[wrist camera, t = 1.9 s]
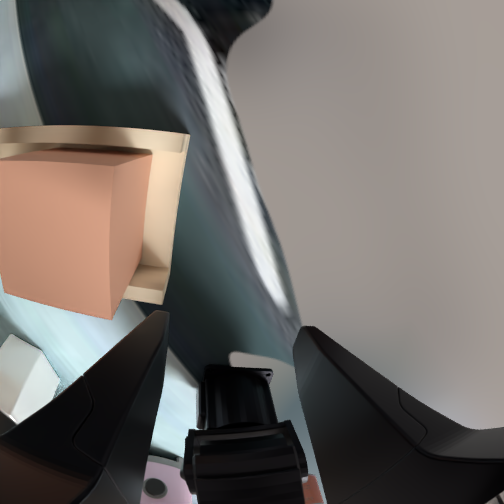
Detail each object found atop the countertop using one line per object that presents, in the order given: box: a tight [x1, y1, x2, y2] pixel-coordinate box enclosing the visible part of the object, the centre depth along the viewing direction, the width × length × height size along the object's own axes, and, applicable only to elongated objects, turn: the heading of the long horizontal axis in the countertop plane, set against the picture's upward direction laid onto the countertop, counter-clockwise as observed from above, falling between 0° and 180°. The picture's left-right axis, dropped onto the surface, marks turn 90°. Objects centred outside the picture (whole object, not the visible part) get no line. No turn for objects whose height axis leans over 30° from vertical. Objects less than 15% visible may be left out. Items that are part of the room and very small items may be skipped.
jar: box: [0, 334, 60, 435], centre depth 16 cm, size 9×8×12 cm
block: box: [0, 147, 153, 320], centre depth 13 cm, size 7×7×7 cm
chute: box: [0, 125, 190, 305], centre depth 14 cm, size 23×10×4 cm, turn 78°
